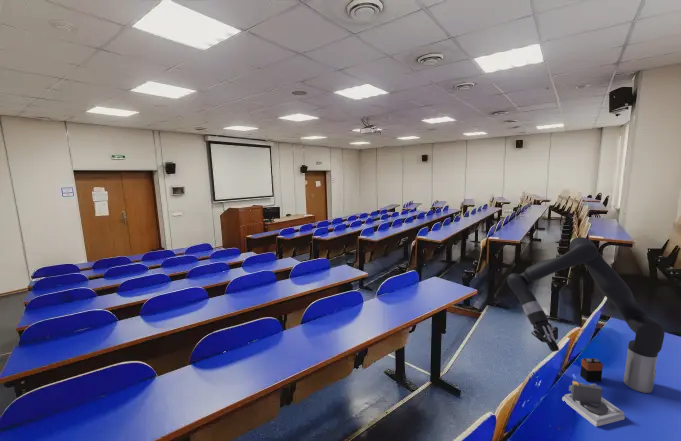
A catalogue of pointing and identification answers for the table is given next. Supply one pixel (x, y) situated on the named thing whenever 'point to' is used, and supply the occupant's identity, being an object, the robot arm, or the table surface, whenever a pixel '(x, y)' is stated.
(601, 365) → the battery
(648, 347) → the robot arm
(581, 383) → the screwdriver
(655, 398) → the table surface
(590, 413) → the panel
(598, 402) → the dial
